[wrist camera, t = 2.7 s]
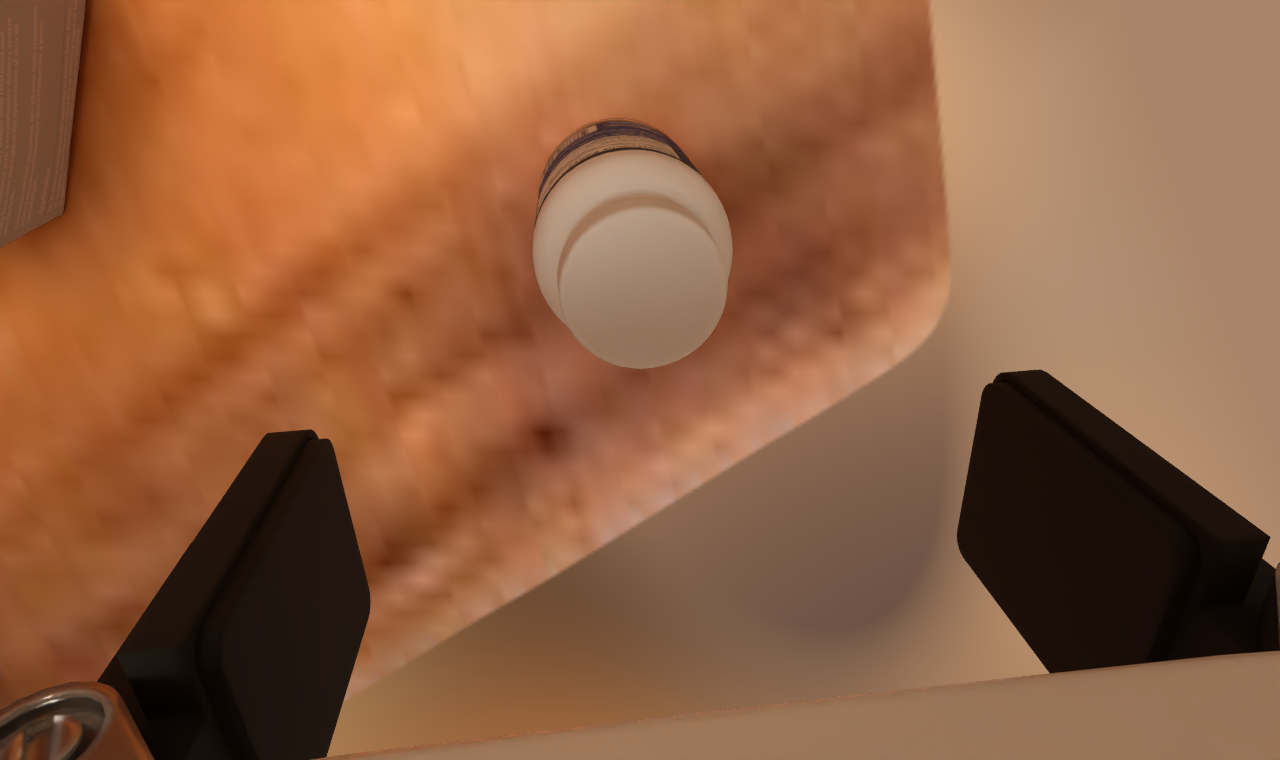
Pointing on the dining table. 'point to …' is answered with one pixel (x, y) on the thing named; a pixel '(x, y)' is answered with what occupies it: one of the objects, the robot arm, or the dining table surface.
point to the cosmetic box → (36, 109)
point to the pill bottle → (631, 244)
